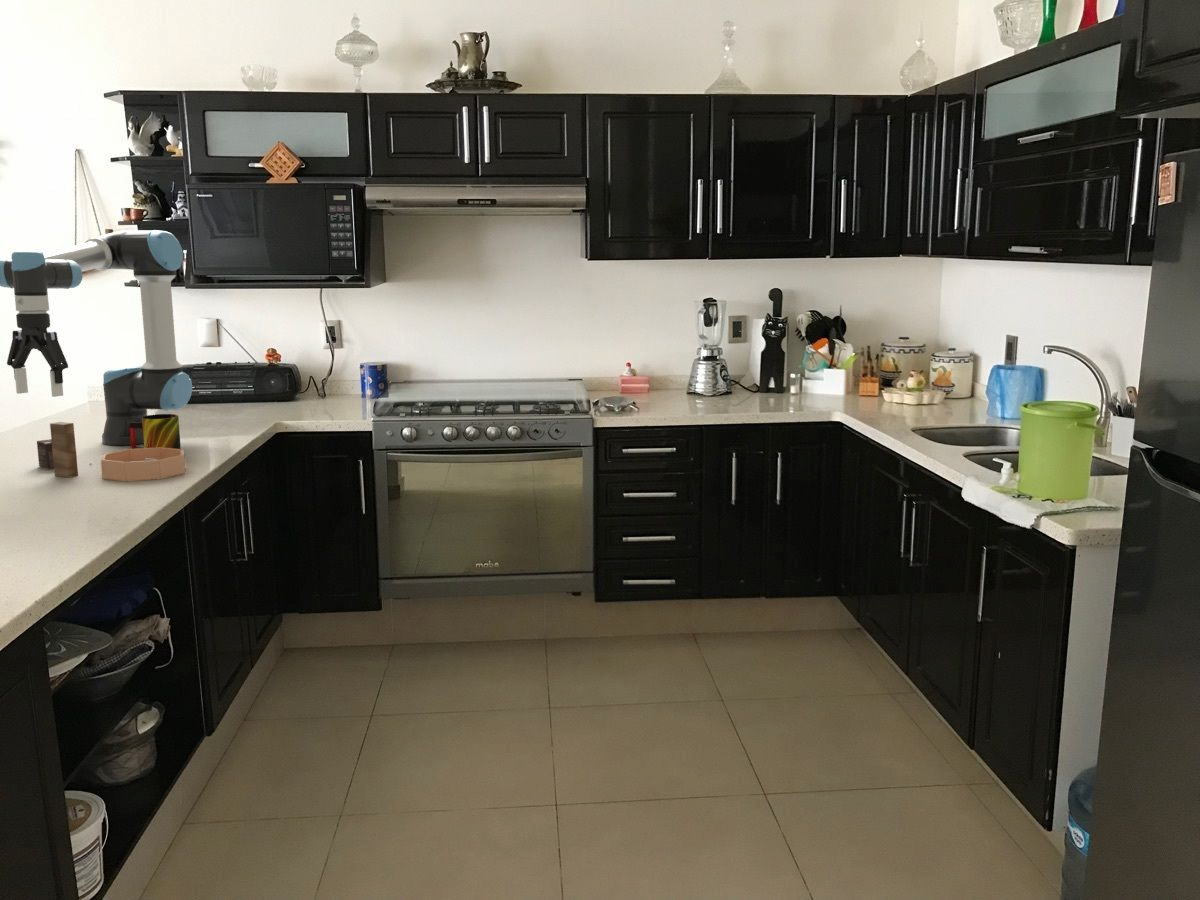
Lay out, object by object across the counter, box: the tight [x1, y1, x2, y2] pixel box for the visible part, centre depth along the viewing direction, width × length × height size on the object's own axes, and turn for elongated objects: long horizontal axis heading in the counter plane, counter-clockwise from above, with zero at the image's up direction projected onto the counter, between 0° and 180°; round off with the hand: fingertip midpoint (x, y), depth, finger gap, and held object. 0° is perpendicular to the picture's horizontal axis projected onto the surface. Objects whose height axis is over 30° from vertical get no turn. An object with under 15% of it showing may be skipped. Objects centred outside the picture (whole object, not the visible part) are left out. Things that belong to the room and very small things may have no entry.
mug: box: [130, 413, 182, 449], centre depth 293 cm, size 10×14×12 cm
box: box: [36, 438, 54, 470], centre depth 280 cm, size 6×6×7 cm
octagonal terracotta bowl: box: [100, 447, 186, 482], centre depth 272 cm, size 20×20×5 cm
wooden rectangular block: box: [49, 421, 79, 478], centre depth 268 cm, size 3×5×14 cm, turn 67°
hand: (39, 394), depth 265 cm, fingers open, 13 cm apart
